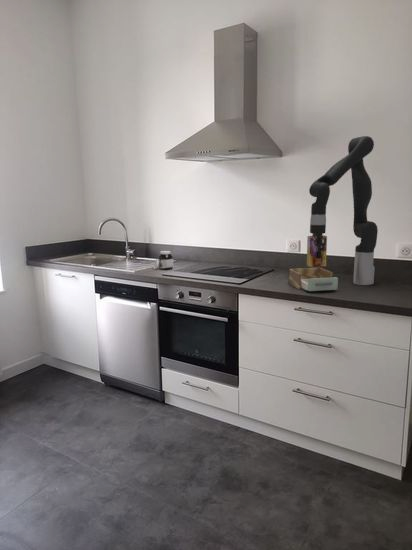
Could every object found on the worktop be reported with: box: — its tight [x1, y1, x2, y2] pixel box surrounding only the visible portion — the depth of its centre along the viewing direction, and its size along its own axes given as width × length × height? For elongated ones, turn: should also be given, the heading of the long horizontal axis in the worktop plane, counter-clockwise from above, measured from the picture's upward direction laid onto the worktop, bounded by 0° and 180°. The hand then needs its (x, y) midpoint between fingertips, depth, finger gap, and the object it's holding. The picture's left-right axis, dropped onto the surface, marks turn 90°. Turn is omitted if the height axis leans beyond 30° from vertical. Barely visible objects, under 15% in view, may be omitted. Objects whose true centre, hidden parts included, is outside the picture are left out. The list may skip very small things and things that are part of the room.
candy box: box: [306, 235, 328, 268], centre depth 206 cm, size 9×4×15 cm, turn 96°
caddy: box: [288, 267, 333, 290], centre depth 216 cm, size 18×14×8 cm
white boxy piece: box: [301, 276, 339, 292], centre depth 206 cm, size 15×15×6 cm
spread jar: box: [153, 250, 174, 271], centre depth 268 cm, size 12×11×12 cm
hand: (316, 257), depth 207 cm, fingers closed on candy box, 4 cm apart
